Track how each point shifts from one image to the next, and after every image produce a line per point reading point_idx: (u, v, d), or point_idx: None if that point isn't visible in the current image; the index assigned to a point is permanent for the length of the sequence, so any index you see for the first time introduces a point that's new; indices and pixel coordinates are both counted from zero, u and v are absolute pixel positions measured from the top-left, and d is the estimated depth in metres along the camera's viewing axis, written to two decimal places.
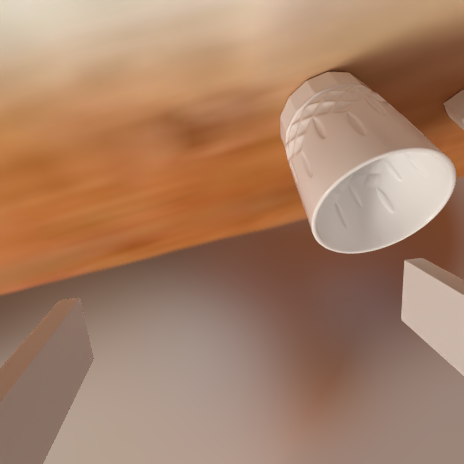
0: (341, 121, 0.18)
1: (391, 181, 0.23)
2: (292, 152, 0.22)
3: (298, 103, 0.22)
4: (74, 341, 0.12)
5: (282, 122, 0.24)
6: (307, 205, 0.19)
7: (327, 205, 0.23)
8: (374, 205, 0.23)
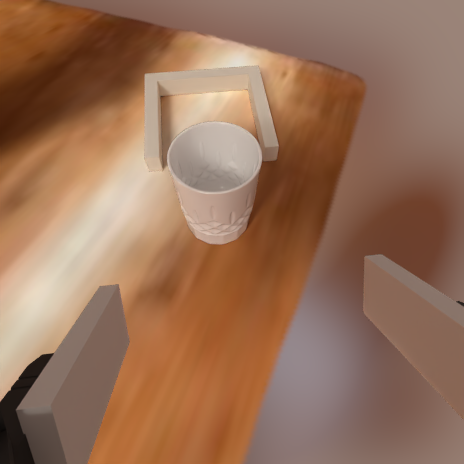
0: None
1: (248, 170, 0.32)
2: (193, 219, 0.32)
3: None
4: (116, 323, 0.13)
5: (195, 234, 0.35)
6: (188, 194, 0.27)
7: None
8: None
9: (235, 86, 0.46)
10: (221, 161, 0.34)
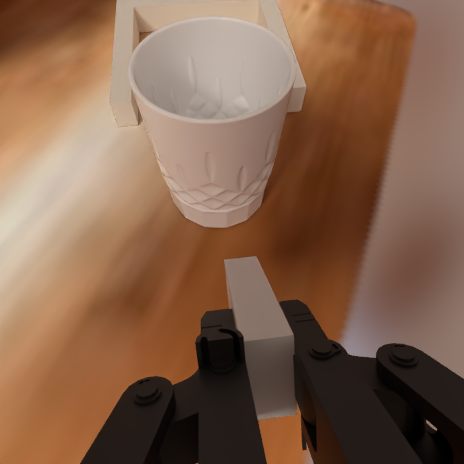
0: None
1: None
2: (178, 184, 0.19)
3: None
4: None
5: (184, 212, 0.22)
6: (165, 130, 0.15)
7: None
8: None
9: None
10: (223, 98, 0.22)
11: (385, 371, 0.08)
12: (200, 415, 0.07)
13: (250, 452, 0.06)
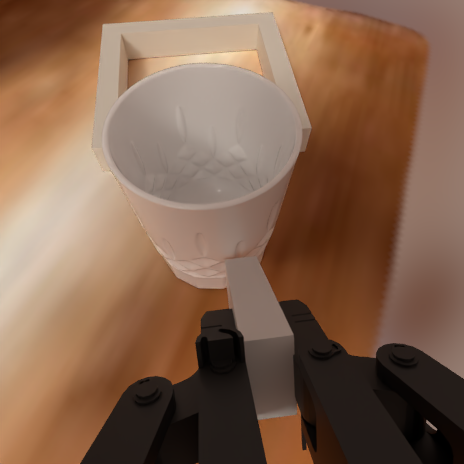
0: None
1: (267, 160, 0.18)
2: None
3: None
4: None
5: (175, 273, 0.20)
6: (146, 210, 0.13)
7: None
8: None
9: (238, 44, 0.31)
10: (217, 145, 0.19)
11: (385, 371, 0.08)
12: (200, 415, 0.07)
13: (250, 452, 0.06)
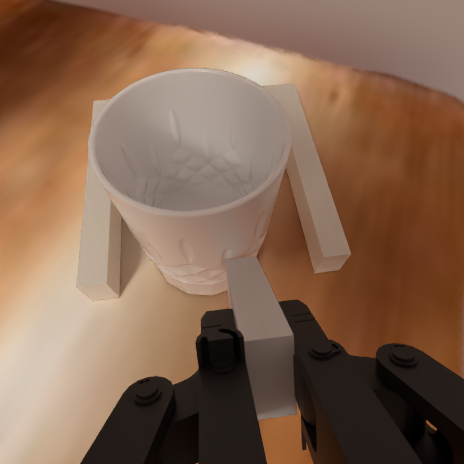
0: None
1: (260, 167, 0.17)
2: None
3: None
4: None
5: (165, 278, 0.20)
6: (129, 215, 0.13)
7: None
8: None
9: None
10: (211, 151, 0.19)
11: (385, 371, 0.08)
12: (200, 415, 0.07)
13: (250, 452, 0.06)
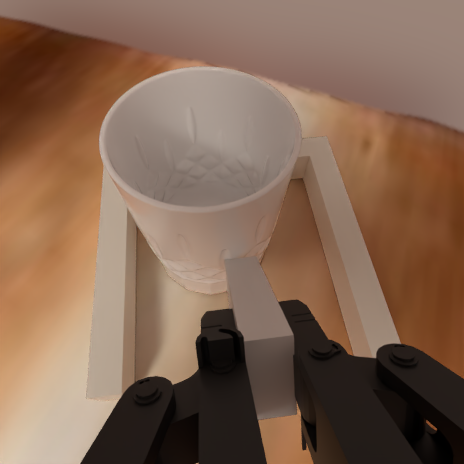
0: None
1: (271, 172, 0.17)
2: None
3: None
4: None
5: (166, 271, 0.20)
6: (131, 204, 0.13)
7: None
8: None
9: None
10: (226, 151, 0.19)
11: (385, 371, 0.08)
12: (200, 415, 0.07)
13: (250, 452, 0.06)
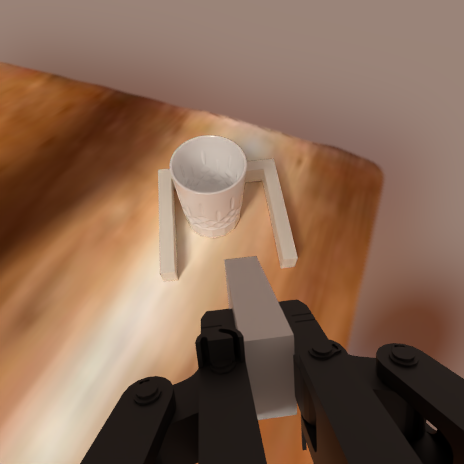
0: None
1: (239, 179, 0.38)
2: (187, 213, 0.38)
3: None
4: None
5: (190, 226, 0.41)
6: (182, 192, 0.34)
7: None
8: None
9: (249, 178, 0.45)
10: (219, 168, 0.40)
11: (385, 371, 0.08)
12: (200, 415, 0.07)
13: (250, 451, 0.06)
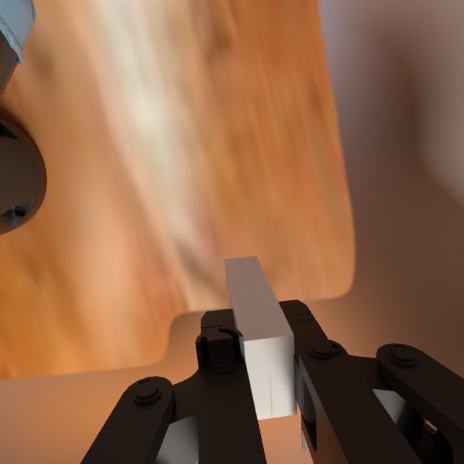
0: None
1: None
2: None
3: None
4: None
5: None
6: None
7: None
8: None
9: None
10: None
11: (385, 371, 0.08)
12: (200, 415, 0.07)
13: (250, 452, 0.06)
